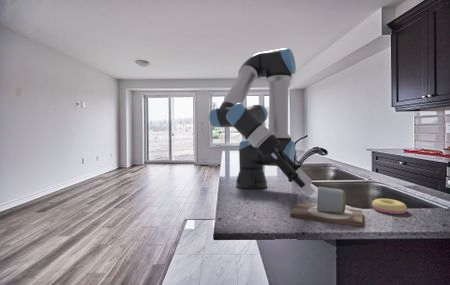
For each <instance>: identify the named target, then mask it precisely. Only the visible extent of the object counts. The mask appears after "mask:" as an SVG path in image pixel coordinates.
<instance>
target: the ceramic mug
mask: <svg viewBox="0 0 450 285" xmlns="http://www.w3.org/2000/svg"><path fill="white" fill-rule="evenodd" d="M346 199H347V198H346V192H345V190H343V189H339V188H330V187H324V186H318V187H317V200H316V201H317V203H316V204H317V211H321V212H333V213H343V212H345V209H346V206H347V204H346V203H347V200H346Z"/></svg>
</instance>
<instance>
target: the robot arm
mask: <svg viewBox="0 0 450 285" xmlns="http://www.w3.org/2000/svg"><path fill="white" fill-rule="evenodd" d="M295 60H296V59H295V56H294V53H293V51H292V50H291V49H290V48H288V47H286V48H279V49H273V50H268V51H267V50H266V51H261V52H257V53H255V54H253V55H252V56H250V57H249V58H247V60H246V61H244V62H243V63H242V65H241V66H240V68H239V69H238V71H237V72H238V75H237V77H236V79H235V80H234V82H233V84H232V86H231V88H230V90H228V93H227V95H226V96H225V98H224V99H223V101H222V103H221V105H220V106H219V107H216V108H213V109H211V110H210V111H209V115H208V116H209V117H208V118H209V119H208V120H209V122H210V125H211V126H212V127H215V128H234V129H235V130H236V131H237V132H238V133H239V134H240V135H241V136H242V137H244V139H245V140H242V141H240V142H239V145H238V147H239V148H238V152H239V153H238V156H239V157H238V158H239V160H238V161H239V165H238V166H239V171H238V174H237V177H236V182H235V186H236V188H239V189H245V190H247V189H248V190H257V189H258V190H259V189H264V188H266V187H268V181H267V178H266V175H265V172H264V166H268V167H278V168H279V169H280V170H281V171H282V173H283V174H284V175H285V177H287V179H288V183H292V182H293V183H294V184H295V186H297V187H298V188H299V190H301V192H302V193H304V194H305V196H306V197H308V198H309V197H311V195H313V194H314V193H315V192H316V190H315V189H314V188H313V187H312V186H311V185H312V184H313V183H314V181H313V180H312V179H311V177H309V176H308V175H307V174H306V173H305V171H303V169H301V168H300V167H301V165H300V164H299V163H296V162H295V161H294V158H295V155H296V143H295V141H293V140H292V137H291V135H289V82H290V81H291V80H292V75H294V74H295V73H296V61H295ZM260 78H261V79H262V78H265V80H266V82H268V85H269V87H268V88H269V96H268V98H269V99H268V102H269V103H268V104H269V107H268V108H269V109H268V110H267V108H266V107H265V106H263V105H262V104H253V105H248V106H245V105H244V104H243V103H244V101H245V99H246V98H247V95H248V94H249V91H250V90H251V88H252V85H253V84H254V83H256V82H257V80H258V79H260ZM268 111H269V112H268ZM268 116H269V118H268ZM267 118H268V128H267V127H266V126H265V124H264V123H265V122H266V121H267Z"/></svg>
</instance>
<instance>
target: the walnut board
mask: <svg viewBox="0 0 450 285" xmlns="http://www.w3.org/2000/svg"><path fill="white" fill-rule="evenodd" d="M289 217H290V218H296V219H303V220H310V221H316V222H318V221H319V222H323V223H324V222H326V223H332V224H339V225H347V226H355V227H362V228H363V227H364V226H363V225H364V222H363V218H364V217H363V210H361V209H353V208H345V212H343V213H333V212H321V211H317V205H316V204H306V203H297V204H296V206H295V207H294V208H293V209H292V210H291V212H290V214H289Z"/></svg>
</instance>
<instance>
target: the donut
mask: <svg viewBox="0 0 450 285" xmlns="http://www.w3.org/2000/svg"><path fill="white" fill-rule="evenodd" d="M371 204H372V205H371V207H372V208H373V209H374V210H376V211H377V212H380V213H383V214H390V215H403V214H405V213H406V212H407V210H408V207H407V205H406V204H405V203H404V202H402V201H399V200H396V199H391V198H375V199H374V200H372V202H371Z"/></svg>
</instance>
